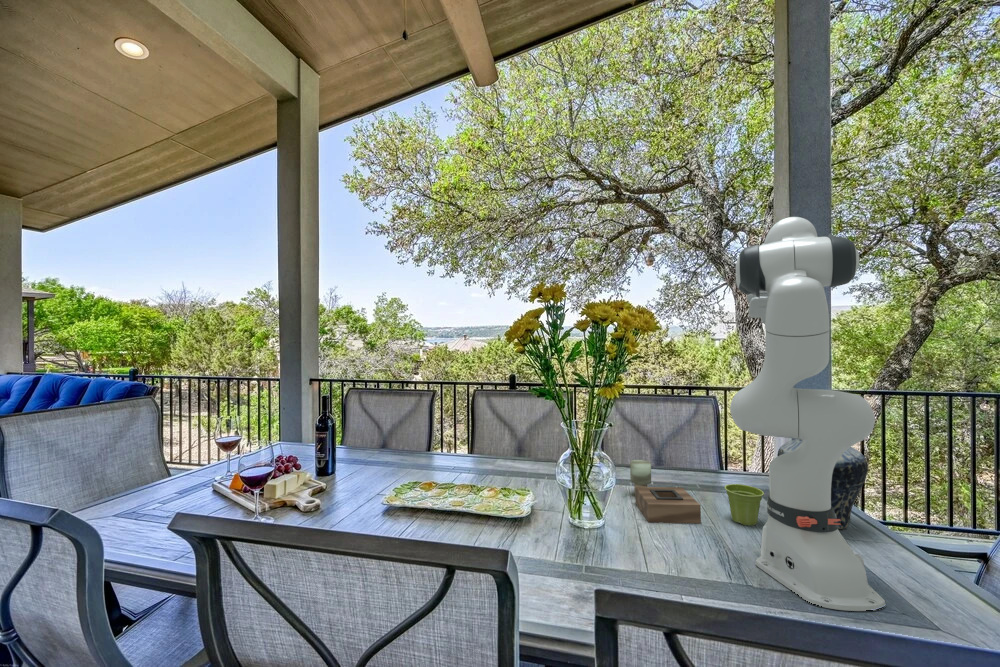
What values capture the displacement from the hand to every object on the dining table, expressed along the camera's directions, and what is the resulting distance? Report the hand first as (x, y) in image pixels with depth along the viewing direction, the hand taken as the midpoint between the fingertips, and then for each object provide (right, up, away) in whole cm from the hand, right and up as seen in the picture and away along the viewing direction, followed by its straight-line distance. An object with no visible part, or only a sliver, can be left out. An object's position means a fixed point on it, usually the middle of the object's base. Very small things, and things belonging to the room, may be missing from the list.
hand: (784, 327), depth 141 cm
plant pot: (-28, -54, -25) cm, 66 cm away
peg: (-49, -54, -4) cm, 74 cm away
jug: (-8, -54, -26) cm, 60 cm away
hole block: (-47, -54, -19) cm, 74 cm away
